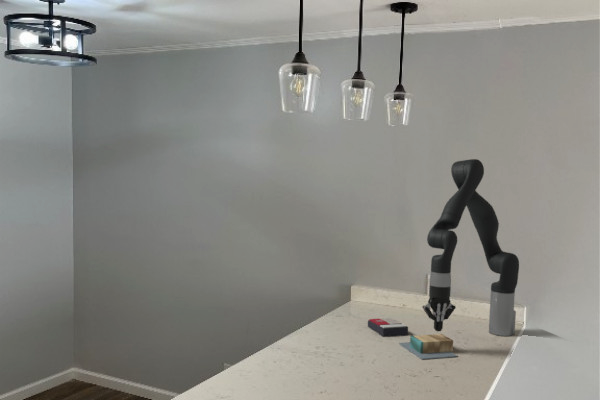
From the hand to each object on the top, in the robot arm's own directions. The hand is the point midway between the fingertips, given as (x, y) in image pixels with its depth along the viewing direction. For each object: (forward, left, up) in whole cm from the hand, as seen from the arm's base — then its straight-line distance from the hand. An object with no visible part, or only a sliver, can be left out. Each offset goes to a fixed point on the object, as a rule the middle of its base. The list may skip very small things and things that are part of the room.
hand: (437, 330), depth 219 cm
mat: (+4, 0, -7) cm, 8 cm away
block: (-4, 0, -5) cm, 6 cm away
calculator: (+8, -26, -8) cm, 28 cm away
